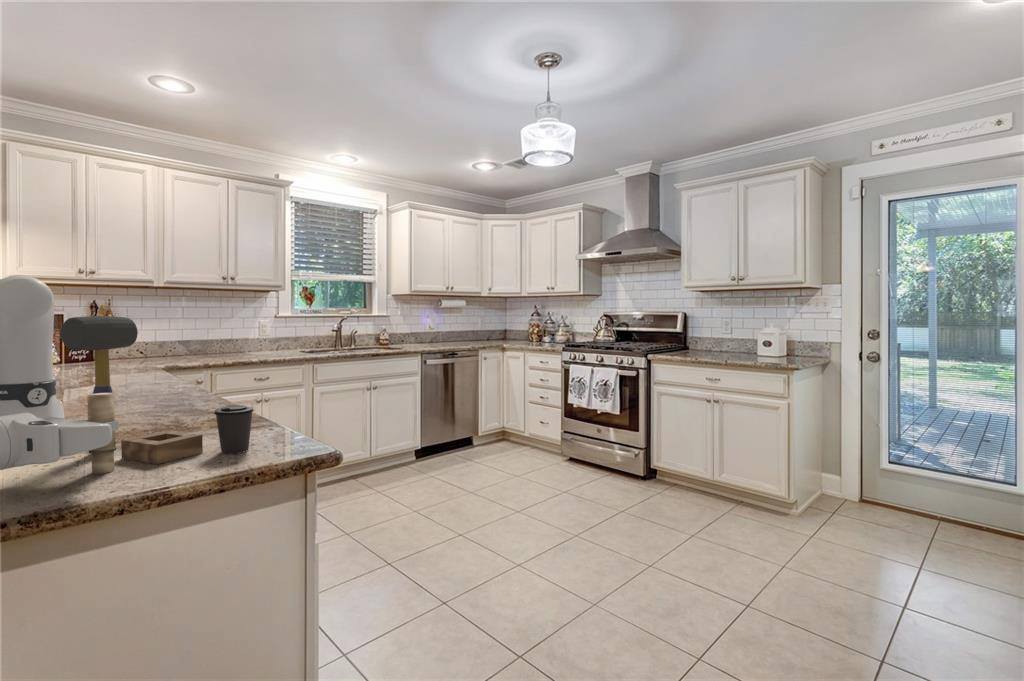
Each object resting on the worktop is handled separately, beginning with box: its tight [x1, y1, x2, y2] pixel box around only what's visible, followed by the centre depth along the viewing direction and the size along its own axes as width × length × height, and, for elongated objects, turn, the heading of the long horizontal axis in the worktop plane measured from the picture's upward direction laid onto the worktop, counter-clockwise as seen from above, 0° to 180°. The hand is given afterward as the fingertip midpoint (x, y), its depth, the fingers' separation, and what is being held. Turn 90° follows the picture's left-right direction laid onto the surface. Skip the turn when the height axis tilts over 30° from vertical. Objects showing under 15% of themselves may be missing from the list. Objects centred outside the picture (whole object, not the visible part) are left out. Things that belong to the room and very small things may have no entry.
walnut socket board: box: [120, 429, 204, 465], centre depth 112 cm, size 11×10×4 cm
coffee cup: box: [213, 404, 255, 454], centre depth 116 cm, size 8×8×10 cm
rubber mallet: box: [60, 315, 139, 444], centre depth 114 cm, size 12×8×30 cm, turn 167°
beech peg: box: [86, 392, 117, 475], centre depth 100 cm, size 4×4×15 cm
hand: (106, 424), depth 101 cm, fingers closed on beech peg, 4 cm apart
